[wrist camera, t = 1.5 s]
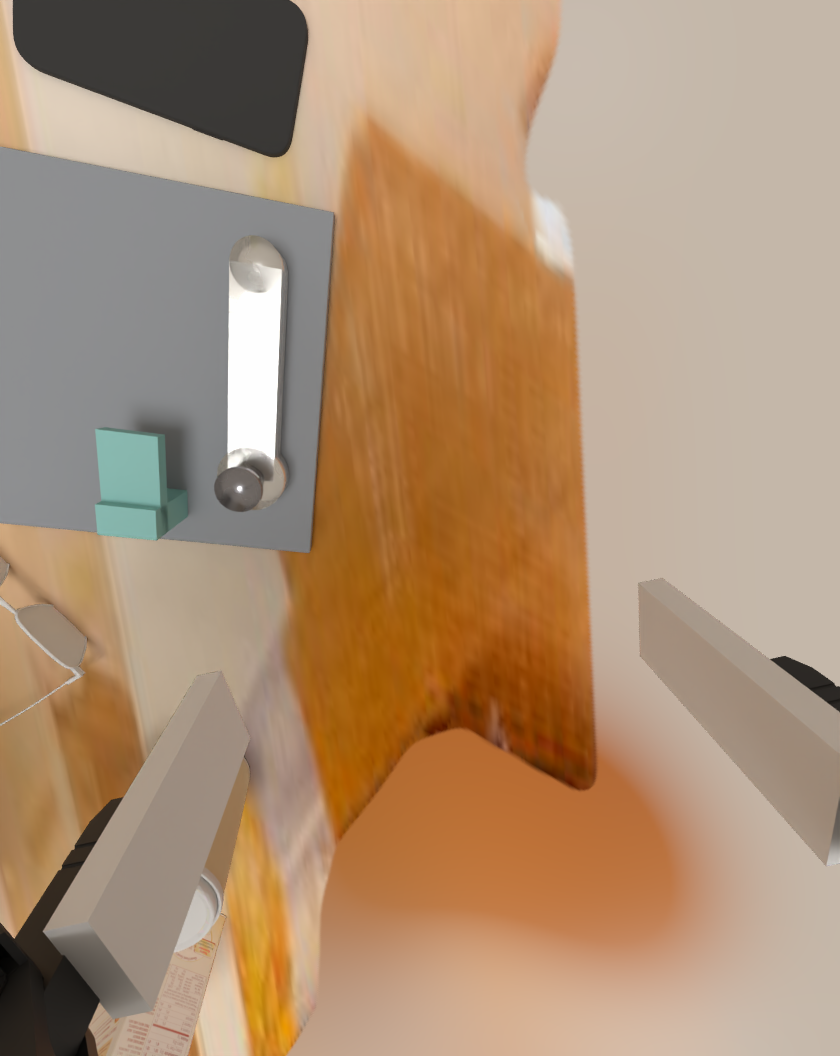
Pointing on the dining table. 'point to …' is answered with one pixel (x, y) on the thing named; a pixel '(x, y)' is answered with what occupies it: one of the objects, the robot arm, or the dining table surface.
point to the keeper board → (144, 353)
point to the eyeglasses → (49, 634)
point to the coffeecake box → (163, 1007)
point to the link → (255, 378)
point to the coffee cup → (216, 867)
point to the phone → (178, 60)
